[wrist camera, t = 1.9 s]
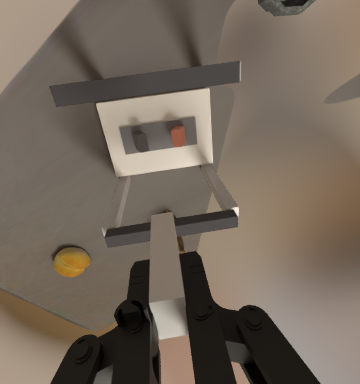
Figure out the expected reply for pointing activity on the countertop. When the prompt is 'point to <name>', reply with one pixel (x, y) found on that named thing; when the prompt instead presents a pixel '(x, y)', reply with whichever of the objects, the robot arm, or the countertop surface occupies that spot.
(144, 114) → the white grey open frame
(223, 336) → the robot arm
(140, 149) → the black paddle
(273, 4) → the mortar and pestle
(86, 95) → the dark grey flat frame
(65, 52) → the countertop surface
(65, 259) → the bread roll
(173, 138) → the terracotta block
